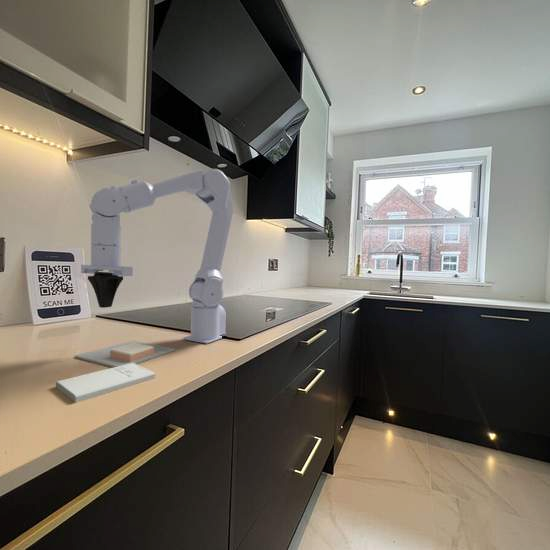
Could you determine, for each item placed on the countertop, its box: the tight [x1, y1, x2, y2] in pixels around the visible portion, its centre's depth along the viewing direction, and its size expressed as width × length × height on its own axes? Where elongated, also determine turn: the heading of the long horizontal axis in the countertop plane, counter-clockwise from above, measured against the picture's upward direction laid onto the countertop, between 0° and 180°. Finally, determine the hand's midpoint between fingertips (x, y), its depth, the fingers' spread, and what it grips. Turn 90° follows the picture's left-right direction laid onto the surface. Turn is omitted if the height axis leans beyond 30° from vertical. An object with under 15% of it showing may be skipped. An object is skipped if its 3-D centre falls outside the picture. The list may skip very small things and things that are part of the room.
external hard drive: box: [55, 363, 156, 404], centre depth 50 cm, size 2×8×12 cm
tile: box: [110, 343, 154, 362], centre depth 63 cm, size 6×2×6 cm
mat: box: [74, 340, 176, 368], centre depth 65 cm, size 14×14×1 cm
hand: (105, 307), depth 66 cm, fingers closed
